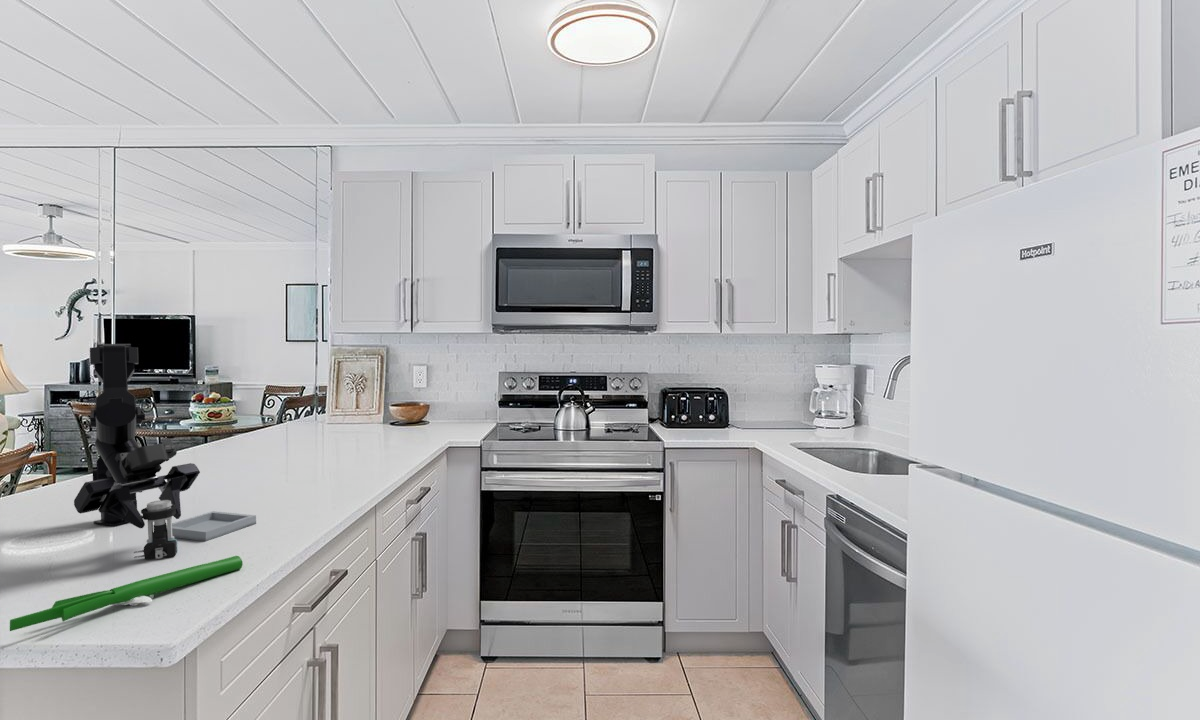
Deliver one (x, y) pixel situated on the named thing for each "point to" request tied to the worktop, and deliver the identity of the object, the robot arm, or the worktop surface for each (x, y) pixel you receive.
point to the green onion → (128, 592)
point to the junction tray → (211, 525)
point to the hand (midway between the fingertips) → (161, 522)
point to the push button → (159, 530)
